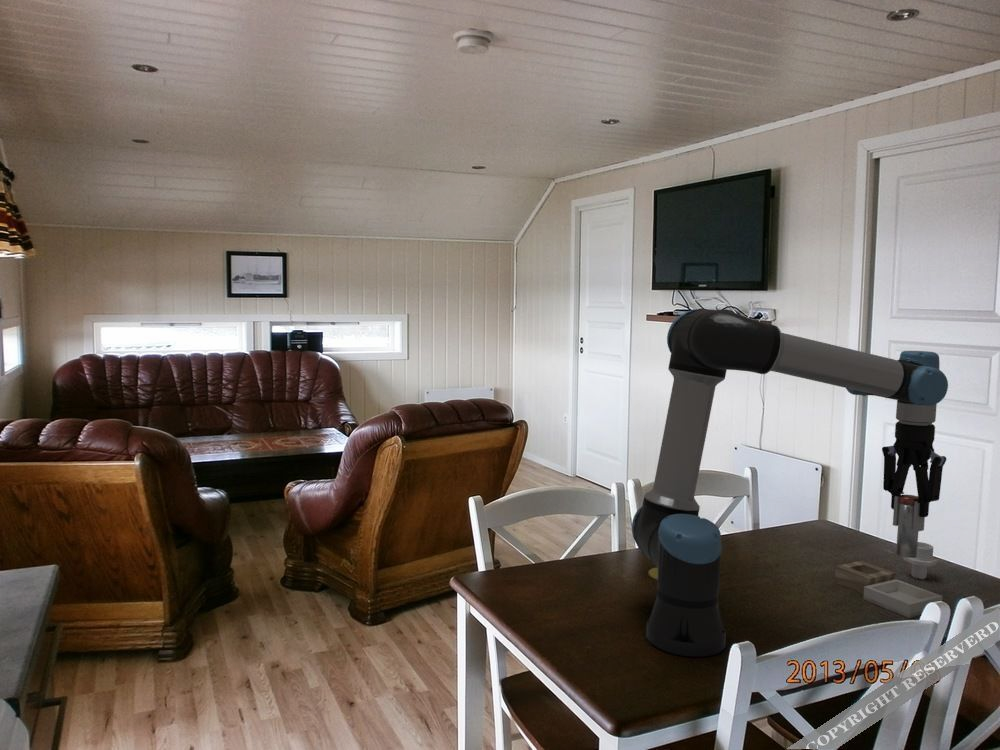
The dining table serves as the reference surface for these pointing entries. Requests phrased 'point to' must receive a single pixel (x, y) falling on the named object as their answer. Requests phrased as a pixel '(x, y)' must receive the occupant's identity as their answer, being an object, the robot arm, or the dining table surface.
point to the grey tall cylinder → (906, 528)
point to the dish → (900, 597)
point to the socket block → (861, 575)
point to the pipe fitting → (922, 560)
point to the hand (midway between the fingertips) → (908, 527)
